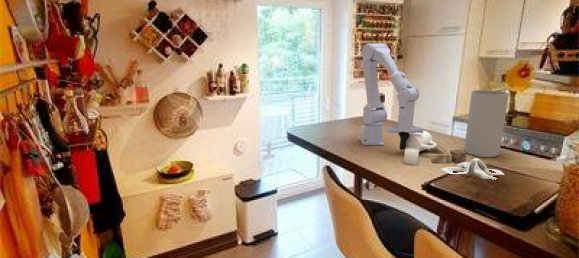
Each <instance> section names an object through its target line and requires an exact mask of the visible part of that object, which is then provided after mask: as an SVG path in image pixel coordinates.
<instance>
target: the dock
mask: <svg viewBox="0 0 579 258" xmlns="http://www.w3.org/2000/svg"><path fill="white" fill-rule="evenodd" d="M433 142H435V141H434V140H433ZM435 143H436V144H437V147H436V148H434V149H429V150H430V151H431V152H433V153H431V158H430V162H431V163H433V164H434V163H436V164H437V163H439V164H440V163H441V164H443V163H444V164H445V163H446V164H447V163H448V164H449V163H450V164H451V163H452V155H451V154H450V151H447V150H446V149H445V148H443V146H441V145H440V144H438V143H437V142H435Z"/></svg>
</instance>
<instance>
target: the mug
mask: <svg viewBox="0 0 579 258" xmlns="http://www.w3.org/2000/svg"><path fill="white" fill-rule="evenodd" d="M409 134H410V136H409V138H408V139H407V141H406V148H415V149H418V150H419V153H420V152H422V151H427V150H430V149H434V148H436V147H437V144H438V143H437V142H436V141H434V139H433V136H432V134H431V133H430V132H428V131H426V130H423V133H409ZM433 141H434V142H433ZM436 143H437V144H436Z"/></svg>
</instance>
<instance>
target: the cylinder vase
mask: <svg viewBox="0 0 579 258" xmlns="http://www.w3.org/2000/svg"><path fill="white" fill-rule="evenodd" d="M509 96H510V94H509V92H506V91H503V90H501V91H500V90H493V89H492V90H490V89H489V90H488V89H477V90H476V89H475V90H471V96H470V104H469V109H468V110H469V111H468V118H467V127H466V133H465V138H464V139H465V140H464V147H463V149H464V152H466V153H467V154H469V155H472V156H475V157H479V158H480V157H481V158H495V157H498V156H499V155H500V152H501V145H502V140H503V132H504V127H505V120H506V115H507V108H508V102H509Z"/></svg>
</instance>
